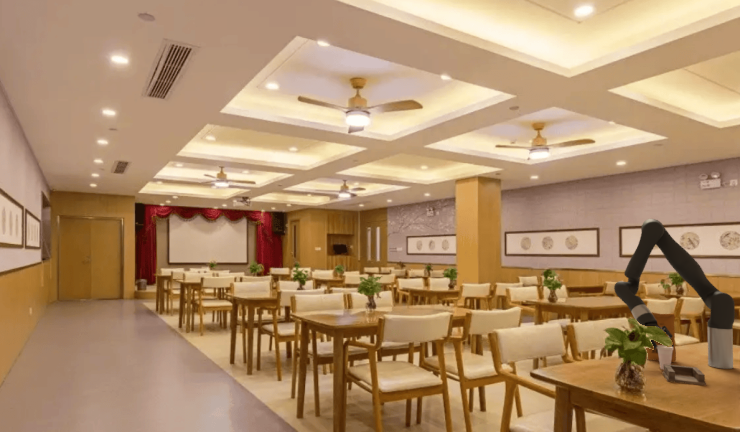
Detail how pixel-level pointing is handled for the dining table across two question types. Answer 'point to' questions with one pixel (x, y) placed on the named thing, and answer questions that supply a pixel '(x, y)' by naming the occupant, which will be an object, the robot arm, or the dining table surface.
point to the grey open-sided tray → (683, 374)
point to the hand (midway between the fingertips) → (663, 347)
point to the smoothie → (664, 355)
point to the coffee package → (669, 323)
